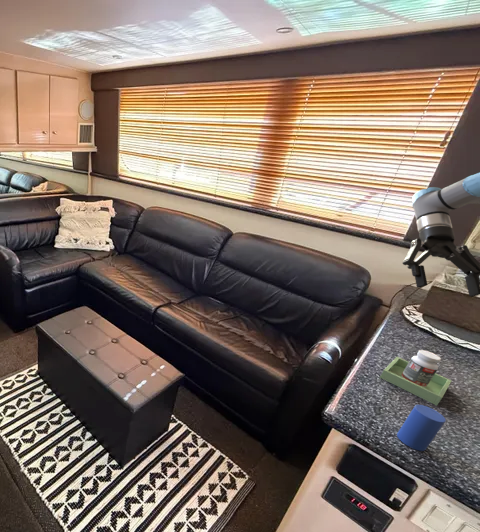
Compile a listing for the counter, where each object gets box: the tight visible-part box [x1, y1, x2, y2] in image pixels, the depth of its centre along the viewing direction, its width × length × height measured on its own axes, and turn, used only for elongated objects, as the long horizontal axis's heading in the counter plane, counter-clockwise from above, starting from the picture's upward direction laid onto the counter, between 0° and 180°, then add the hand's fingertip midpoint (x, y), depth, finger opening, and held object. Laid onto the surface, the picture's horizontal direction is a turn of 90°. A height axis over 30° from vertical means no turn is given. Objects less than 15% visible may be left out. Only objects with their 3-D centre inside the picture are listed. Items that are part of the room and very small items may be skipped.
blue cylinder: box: [396, 404, 447, 452], centre depth 73 cm, size 5×5×9 cm
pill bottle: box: [401, 349, 442, 387], centre depth 95 cm, size 6×6×10 cm
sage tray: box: [379, 356, 453, 406], centre depth 96 cm, size 13×15×3 cm
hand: (448, 290), depth 95 cm, fingers open, 13 cm apart
